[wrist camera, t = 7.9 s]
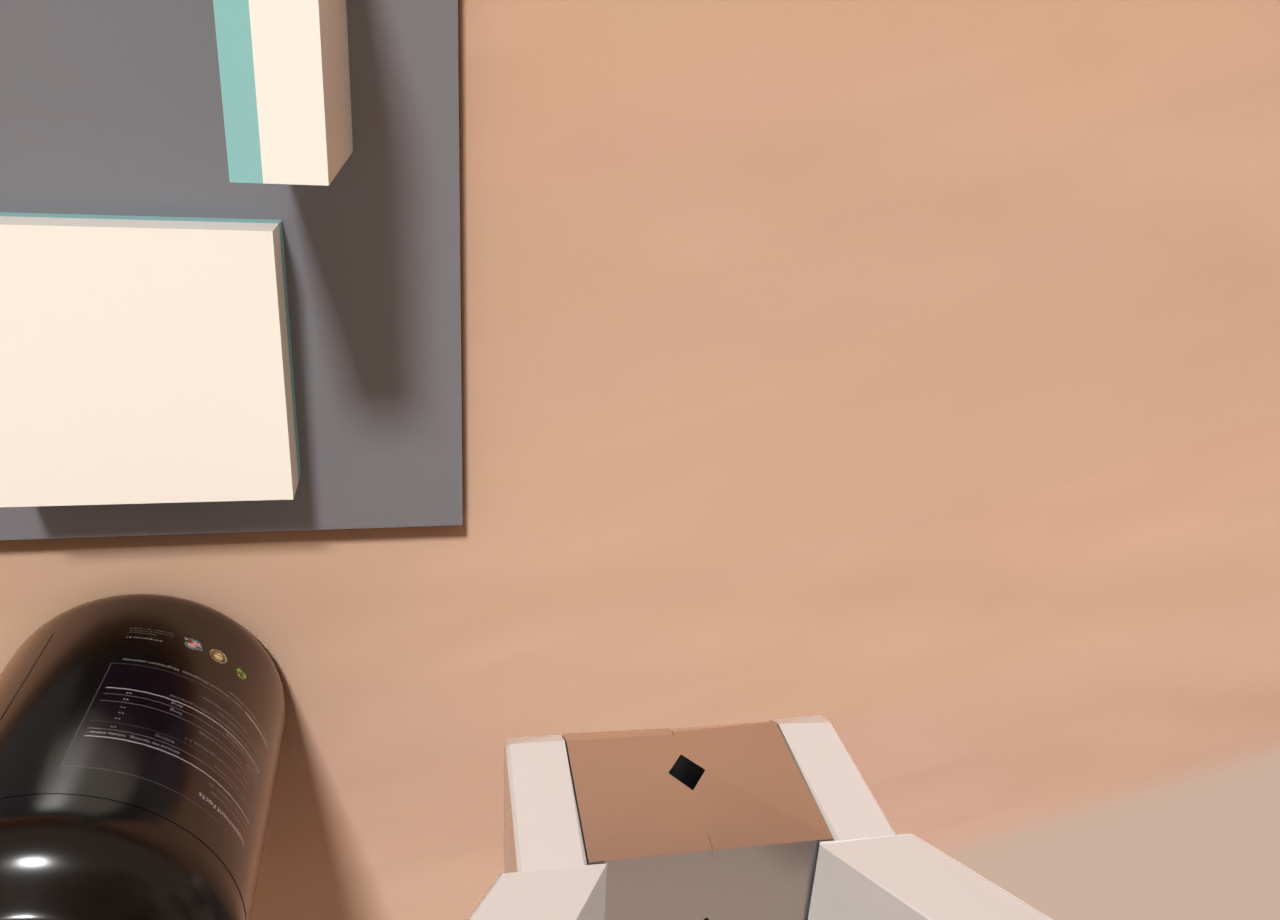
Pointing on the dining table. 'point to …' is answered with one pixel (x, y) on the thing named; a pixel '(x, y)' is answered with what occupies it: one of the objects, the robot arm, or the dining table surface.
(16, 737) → the supplement bottle
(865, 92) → the dining table surface
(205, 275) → the tile
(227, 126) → the tile
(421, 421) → the mat
